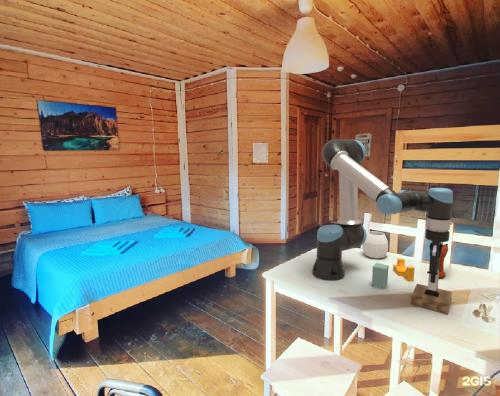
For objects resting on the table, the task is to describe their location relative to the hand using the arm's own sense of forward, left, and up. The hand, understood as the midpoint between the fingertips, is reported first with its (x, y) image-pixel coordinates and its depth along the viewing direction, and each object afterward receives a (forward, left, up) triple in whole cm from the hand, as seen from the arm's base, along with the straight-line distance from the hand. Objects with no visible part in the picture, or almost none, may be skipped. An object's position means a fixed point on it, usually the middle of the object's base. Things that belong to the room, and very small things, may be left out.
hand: (432, 288), depth 112 cm
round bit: (0, 0, -2) cm, 2 cm away
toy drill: (0, +36, -6) cm, 37 cm away
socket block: (0, 0, -6) cm, 6 cm away
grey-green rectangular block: (-20, +4, -6) cm, 21 cm away
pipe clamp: (-14, +21, -6) cm, 26 cm away
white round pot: (-32, +40, -6) cm, 52 cm away
